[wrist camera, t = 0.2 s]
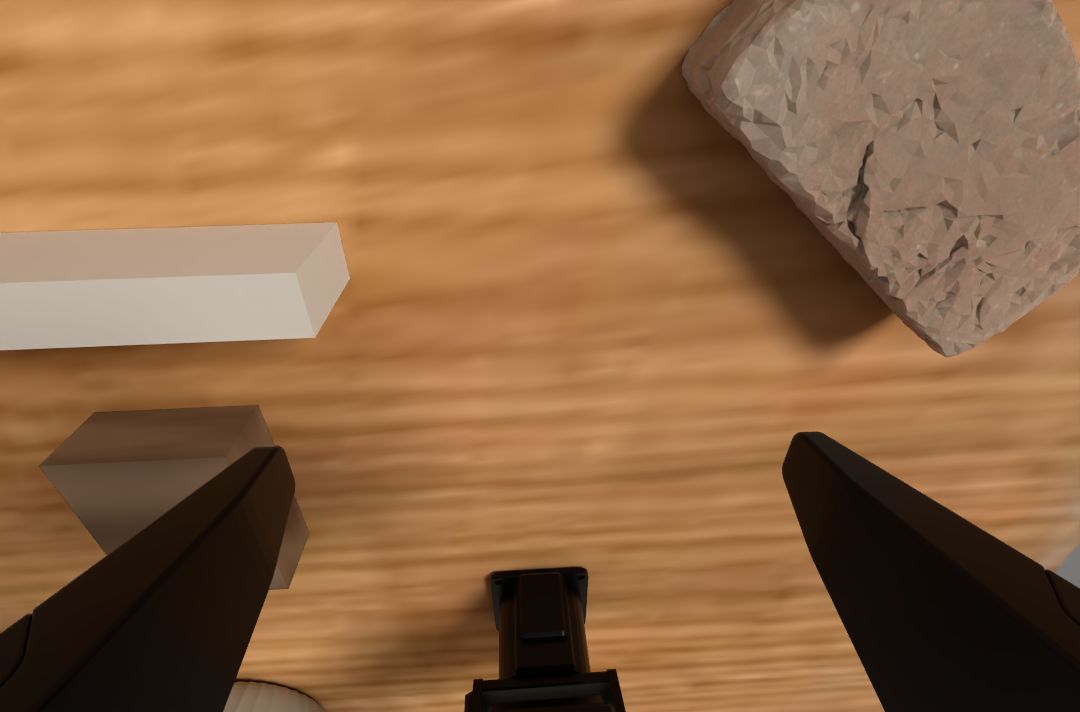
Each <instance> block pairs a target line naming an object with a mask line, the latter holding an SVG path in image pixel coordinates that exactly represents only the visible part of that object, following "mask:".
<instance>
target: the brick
mask: <svg viewBox="0 0 1080 712" xmlns="http://www.w3.org/2000/svg"><path fill="white" fill-rule="evenodd" d="M682 76H683V77H684V78H685V80H686V81H687V86H688V89H689V91H690V92H691V93H692V94H693V95H694V96H695V97H696V98H697V99H698V100H699V101H700V102H701V104H702V106H703V108H704V109H705V110H706V111H707V112H708V113H709V114H710V115H711V116H712V117H713V118H714V119H715V120H716V121H717V122H718V123H719V124H720V125H721V126H722V127H723V128H724V129H725V130H726V131H727V132H728V133H729V134H730V135H731V136H732V137H734V138H735V139H737V140H738V141H740V142H741V143H742V144H743V145H744V146H745V148H746V149H747V150H748V152H749V153H750V155H751V156H752V158H753V159H754V160H755V161H756V162H757V163H758V164H759V165H760V166H761V167H762V168H763V170H764V171H765V173H766V174H767V176H768V177H769V179H770V180H771V181H772V182H773V183H775V184H776V185H777V186H779V187H780V188H781V189H783V190H784V191H785V192H786V193H787V194H788V195H789V196H790V197H791V198H792V200H793V201H794V203H795V205H796V207H797V208H798V209H799V210H800V211H802V212H803V213H804V214H805V215H806V216H807V217H808V218H809V220H810V221H811V222H812V223H813V224H814V226H815V227H816V228H817V229H818V230H819V232H820V233H821V234H822V235H823V236H824V237H825V238H826V239H827V240H828V241H829V242H830V243H831V244H832V245H833V246H834V247H835V248H836V250H837V251H838V252H839V254H840V255H841V256H842V257H843V258H844V259H845V260H846V261H847V262H848V263H849V264H850V265H851V266H852V267H853V268H854V269H855V270H856V271H857V272H858V273H859V275H861V277H862V278H863V279H864V280H865V282H866V283H867V284H868V285H869V286H870V287H871V288H872V289H873V291H874V292H875V293H876V294H877V295H878V296H879V297H880V298H881V299H882V300H883V302H884V303H885V304H886V305H887V306H888V307H889V308H890V309H891V310H892V311H893V312H894V313H895V314H896V315H897V316H898V317H899V318H900V319H901V320H902V321H903V323H904V324H905V325H906V326H907V327H909V328H910V329H911V330H912V331H913V332H914V333H916V334H917V336H918V337H920V338H921V339H923V340H924V341H925V342H926V343H927V344H928V346H929V347H931V348H932V349H933V350H934V351H936V352H938V353H939V354H941V355H943V356H945V357H951V356H955V355H959V354H961V353H963V352H965V351H968V350H970V349H972V348H974V347H976V346H977V345H979V344H981V343H982V342H984V341H986V340H987V339H988V338H990V337H991V336H992V335H994V334H995V333H1002V332H1003V331H1004V330H1005V329H1006V328H1007V327H1009V326H1010V325H1011V324H1012V323H1013V322H1015V321H1016V320H1018V319H1019V318H1021V317H1022V316H1024V315H1025V314H1027V313H1028V312H1029V311H1031V310H1032V309H1033V308H1035V307H1036V306H1037V305H1038V304H1039V303H1041V302H1042V301H1044V300H1045V299H1047V298H1049V297H1050V296H1052V295H1053V294H1055V293H1056V292H1058V291H1059V290H1060V289H1062V288H1063V287H1064V286H1065V285H1067V284H1068V283H1069V282H1070V281H1071V280H1072V279H1073V278H1074V277H1075V276H1076V275H1077V274H1078V273H1079V272H1080V64H1079V61H1078V58H1077V56H1076V53H1075V50H1074V48H1073V45H1072V42H1071V40H1070V37H1069V35H1068V32H1067V30H1066V28H1065V26H1064V24H1063V22H1062V20H1061V18H1060V16H1059V15H1058V13H1057V11H1056V8H1055V5H1054V2H1053V0H734V1H733V2H732V4H730V5H729V6H727V7H725V8H724V9H723V10H722V11H721V12H720V13H719V14H717V15H716V16H715V17H714V18H713V19H712V20H711V21H710V23H709V24H708V25H707V27H706V28H705V30H704V31H703V33H702V35H701V36H700V37H699V38H698V39H697V40H696V42H695V43H694V44H693V45H692V46H691V47H690V49H689V50H688V53H687V55H686V57H685V60H684V62H683V65H682Z"/></svg>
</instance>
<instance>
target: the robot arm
mask: <svg viewBox="0 0 1080 712" xmlns="http://www.w3.org/2000/svg"><path fill="white" fill-rule="evenodd" d="M782 475H783V479H784V482H785V485H786V488H787V490H788V493H789V496H790V499H791V502H792V505H793V507H794V510H795V513H796V516H797V519H798V522H799V524H800V527H801V530H802V533H803V536H804V538H805V541H806V544H807V547H808V549H809V552H810V554H811V557H812V559H813V561H814V563H815V565H816V568H817V570H818V572H819V574H820V576H821V578H822V580H823V582H824V585H825V587H826V589H827V591H828V593H829V595H830V597H831V599H832V601H833V603H834V605H835V608H836V610H837V612H838V614H839V616H840V618H841V620H842V622H843V624H844V626H845V629H846V631H847V633H848V635H849V637H850V639H851V641H852V643H853V645H854V647H855V650H856V652H857V654H858V656H859V658H860V660H861V662H862V664H863V666H864V668H865V671H866V673H867V675H868V677H869V679H870V681H871V683H872V685H873V687H874V689H875V692H876V694H877V696H878V698H879V700H880V702H881V704H882V706H883V708H884V710H885V712H1080V588H1078V587H1076V586H1075V585H1073V584H1072V583H1070V582H1068V581H1067V580H1065V579H1063V578H1062V577H1060V576H1059V575H1057V574H1055V573H1054V572H1052V571H1050V570H1044V567H1043V566H1042V565H1040V564H1038V563H1037V562H1035V561H1034V560H1032V559H1030V558H1029V557H1027V556H1025V555H1024V554H1022V553H1020V552H1019V551H1017V550H1015V549H1014V548H1012V547H1010V546H1009V545H1007V544H1005V543H1004V542H1002V541H1000V540H999V539H997V538H995V537H994V536H992V535H990V534H989V533H987V532H986V531H984V530H982V529H981V528H979V527H977V526H976V525H974V524H972V523H971V522H969V521H967V520H966V519H964V518H962V517H961V516H959V515H957V514H956V513H954V512H952V511H951V510H949V509H947V508H946V507H944V506H942V505H941V504H939V503H938V502H936V501H934V500H933V499H931V498H929V497H928V496H926V495H924V494H923V493H921V492H919V491H918V490H916V489H914V488H913V487H911V486H909V485H908V484H906V483H904V482H903V481H901V480H899V479H898V478H896V477H894V476H893V475H891V474H889V473H888V472H886V471H885V470H883V469H881V468H880V467H878V466H876V465H875V464H873V463H871V462H870V461H868V460H866V459H865V458H863V457H861V456H860V455H858V454H856V453H855V452H853V451H851V450H850V449H848V448H846V447H845V446H843V445H841V444H840V443H838V442H837V441H835V440H833V439H832V438H830V437H828V436H827V435H825V434H823V433H821V432H799V433H797V434H795V435H794V437H793V438H792V441H791V444H790V446H789V449H788V452H787V454H786V457H785V460H784V462H783V466H782ZM294 493H295V480H294V476H293V473H292V470H291V468H290V465H289V462H288V459H287V456H286V453H285V451H284V449H283V448H282V447H280V446H258V447H254V448H253V449H251V450H250V451H248V452H247V453H246V454H244V455H243V456H242V457H240V458H239V459H237V460H236V461H235V462H233V463H232V464H231V465H229V466H228V467H227V468H225V469H224V470H223V471H221V472H220V473H218V474H217V475H216V476H214V477H213V478H212V479H210V480H209V481H208V482H206V483H205V484H203V485H202V486H201V487H199V488H198V489H197V490H195V491H194V492H193V493H191V494H190V495H189V496H187V497H186V498H184V499H183V500H182V501H180V502H179V503H178V504H176V505H175V506H174V507H172V508H171V509H169V510H168V511H167V512H165V513H164V514H163V515H161V516H160V517H159V518H157V519H156V520H155V521H153V522H152V523H150V524H149V525H148V526H146V527H145V528H144V529H142V530H141V531H140V532H138V533H137V534H135V535H134V536H133V537H131V538H130V539H129V540H127V541H126V542H125V543H123V544H122V545H121V546H119V547H118V548H116V549H115V550H114V551H112V552H111V553H110V554H108V555H107V556H106V557H104V558H103V559H101V560H100V561H99V562H97V563H96V564H95V565H93V566H92V567H91V568H89V569H88V570H87V571H85V572H84V573H82V574H81V575H80V576H78V577H77V578H76V579H74V580H73V581H72V582H70V583H69V584H67V585H66V586H65V587H63V588H62V589H61V590H59V591H58V592H57V593H55V594H54V595H52V596H51V597H50V598H48V599H47V600H46V601H44V602H43V603H42V604H40V605H39V606H38V607H36V608H35V609H34V610H33V614H27V615H25V616H24V617H22V618H21V619H20V620H18V621H17V622H16V623H14V624H13V625H11V626H10V627H9V628H7V629H6V630H5V631H3V632H2V633H1V634H0V712H223V711H224V708H225V706H226V703H227V700H228V698H229V695H230V692H231V690H232V687H233V684H234V682H235V679H236V676H237V674H238V671H239V668H240V666H241V663H242V660H243V658H244V655H245V652H246V649H247V647H248V644H249V641H250V639H251V636H252V633H253V631H254V628H255V625H256V623H257V620H258V617H259V615H260V612H261V609H262V607H263V604H264V601H265V598H266V596H267V593H268V590H269V587H270V585H271V582H272V579H273V576H274V572H275V568H276V565H277V561H278V557H279V553H280V549H281V545H282V541H283V537H284V533H285V529H286V525H287V521H288V517H289V513H290V509H291V505H292V501H293V497H294ZM491 586H492V596H493V605H494V614H495V623H496V629H497V630H498V631H499V679H497V680H483V679H474V682H473V691H472V692H470V693H468V694H467V695H465V710H464V712H626V711H625V707H624V703H623V698H622V694H621V690H620V685H619V681H618V677H617V672H616V669H607V671H603V672H590V665H589V657H588V649H587V642H586V634H585V627H584V624H585V619H586V604H587V588H588V572H587V570H586V569H585V568H568V569H551V570H534V571H517V572H500V573H495V574H493V575H492V576H491Z"/></svg>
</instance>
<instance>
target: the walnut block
mask: <svg viewBox="0 0 1080 712" xmlns="http://www.w3.org/2000/svg"><path fill="white" fill-rule="evenodd" d="M258 446H275V445H274V443H273V440H272V438H271V435H270V433H269V430H268V428H267V425H266V423H265V420H264V417H263V415H262V412H261V410H260V407H259V405H246V406H224V407H202V408H179V409H157V410H135V411H112V412H94V413H93V414H92V415H91V416H90V417H89V418H88V419H87V420H86V421H85V422H84V423H83V424H82V425H81V426H80V427H79V428H78V429H77V430H76V431H75V432H74V433H73V434H72V435H71V436H70V437H68V438H67V439H66V440H65V441H64V442H63V443H62V444H61V445H60V446H59V447H58V448H57V449H56V450H55V451H54V452H53V453H52V454H51V455H50V456H49V457H48V458H47V459H46V460H45V461H44V462H43V463H42V464H41V465H39V467H40V468H41V470H42V471H43V472H44V473H45V475H46V476H47V477H48V479H49V480H50V481H51V483H52V484H53V485H54V487H55V488H56V489H57V490H58V492H59V493H60V494H61V496H62V497H63V498H64V500H65V501H66V502H67V504H68V505H69V506H70V507H71V509H72V510H73V511H74V513H75V514H76V515H77V517H78V518H79V519H80V521H81V522H82V523H83V525H84V526H85V527H86V528H87V530H88V531H89V532H90V534H91V535H92V536H93V538H94V539H95V540H96V542H97V543H98V544H99V545H100V547H101V548H102V549H103V551H104V552H105V553H106V555H108V554H110V553H111V552H112V551H114V550H115V549H116V548H118V547H119V546H121V545H122V544H123V543H125V542H126V541H127V540H129V539H130V538H131V537H133V536H134V535H135V534H137V533H138V532H140V531H141V530H142V529H144V528H145V527H146V526H148V525H149V524H150V523H152V522H153V521H155V520H156V519H157V518H159V517H160V516H161V515H163V514H164V513H165V512H167V511H168V510H169V509H171V508H172V507H174V506H175V505H176V504H178V503H179V502H180V501H182V500H183V499H184V498H186V497H187V496H189V495H190V494H191V493H193V492H194V491H195V490H197V489H198V488H199V487H201V486H202V485H203V484H205V483H206V482H208V481H209V480H210V479H212V478H213V477H214V476H216V475H217V474H218V473H220V472H221V471H223V470H224V469H225V468H227V467H228V466H229V465H231V464H232V463H233V462H235V461H236V460H237V459H239V458H240V457H242V456H243V455H244V454H246V453H247V452H248V451H250V450H251V449H253V448H254V447H258ZM308 536H309V530H308V528H307V525H306V523H305V520H304V518H303V515H302V513H301V510H300V508H299V505H298V503H297V500H296V498H295V495H294V497H293V501H292V505H291V509H290V513H289V517H288V521H287V525H286V529H285V533H284V537H283V541H282V545H281V549H280V553H279V557H278V561H277V565H276V568H275V572H274V576H273V579H272V582H271V585H270V587H269V590H275V589H289V586H290V583H291V581H292V578H293V575H294V573H295V570H296V568H297V565H298V562H299V560H300V557H301V554H302V552H303V549H304V546H305V544H306V541H307V538H308Z"/></svg>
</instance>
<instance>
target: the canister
mask: <svg viewBox="0 0 1080 712" xmlns="http://www.w3.org/2000/svg"><path fill="white" fill-rule="evenodd" d="M223 712H325V711H324V709H322V707H321V706H320V705H319V704H317V703H316V702H315V701H314V700H313V699H311V698H308V697H307V696H306V695H304V694H301V693H298V692H297V691H295V690H290V689H288V688H286V687H280V686H277V685H271V684H266V683H256V682H242V681H239V682H234V684H233V687H232V690H231V692H230V695H229V698H228V700H227V703H226V706H225V708H224V711H223Z"/></svg>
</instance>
